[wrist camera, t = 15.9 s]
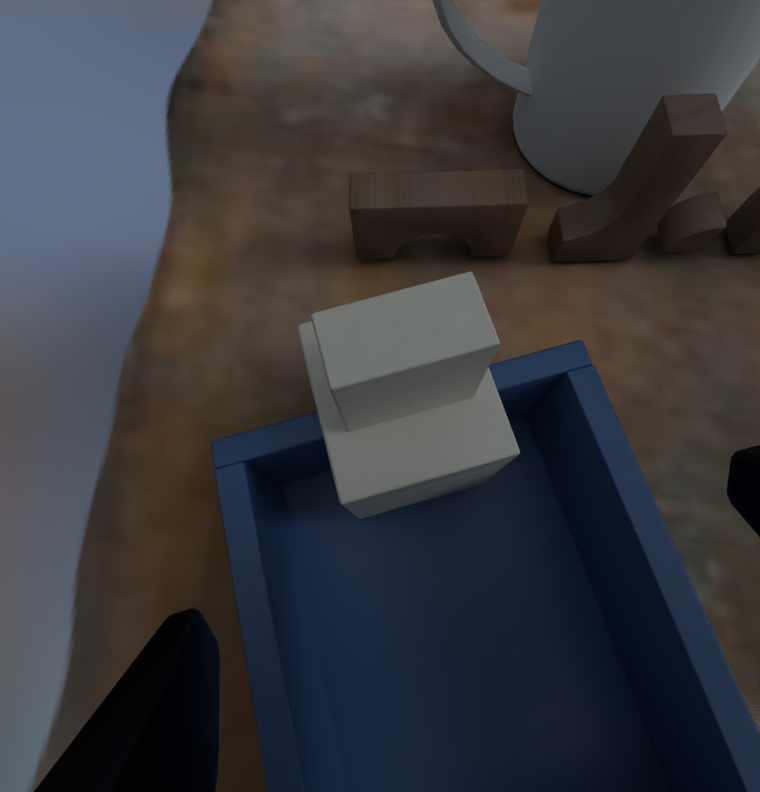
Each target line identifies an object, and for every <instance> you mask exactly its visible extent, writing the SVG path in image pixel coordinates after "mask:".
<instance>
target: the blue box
mask: <svg viewBox="0 0 760 792" xmlns="http://www.w3.org/2000/svg"><path fill="white" fill-rule="evenodd" d="M489 370H490V372H491V375H492V378H493V380H494V383H495V386H496V388H497V391H498V394H499V396H500V399H501V402H502V404H503V407H504V410H505V412H506V415H507V418H508V420H509V423H510V426H511V428H512V431H513V434H514V436H515V439H516V442H517V444H518V447H519V450H520V454H519V455H517V456H516V457H515V458H514V459H512V460H511V461H510V462H509V463H508V464H506V465H505V466H504V467H503V468H501V469H500V470H499V471H498V472H497V473H495V474H494V475H493V476H492V477H491V478H489V479H488V480H487V481H486V482H485V483H483V484H481V485H478V486H474V487H471V488H467V489H464V490H460V491H457V492H453V493H450V494H446V495H443V496H439V497H436V498H432V499H429V500H425V501H422V502H418V503H415V504H411V505H408V506H404V507H401V508H398V509H394V510H391V511H387V512H384V513H380V514H377V515H373V516H370V517H366V518H363V519H359V518H358V517H356V516H355V515H354V514H353V513H351V512H350V511H349V510H348V509H347V508H345V507H344V506H343V505H341V503H340V502H339V498H338V494H337V490H336V486H335V482H334V478H333V473H332V469H331V465H330V461H329V457H328V453H327V449H326V445H325V441H324V437H323V433H322V428H321V424H320V420H319V416H318V412H315V413H312V414H308V415H304V416H301V417H297V418H293V419H290V420H286V421H282V422H279V423H275V424H271V425H268V426H264V427H260V428H257V429H253V430H249V431H246V432H242V433H239V434H235V435H231V436H228V437H224V438H220V439H217V440H213V441H212V442H211V450H212V456H213V462H214V467H215V468H216V469H215V477H216V483H217V489H218V495H219V501H220V507H221V513H222V519H223V525H224V531H225V537H226V543H227V550H228V556H229V562H230V568H231V574H232V580H233V586H234V592H235V598H236V604H237V610H238V616H239V622H240V628H241V634H242V640H243V646H244V652H245V658H246V665H247V671H248V677H249V683H250V689H251V695H252V701H253V707H254V713H255V719H256V725H257V731H258V737H259V743H260V749H261V755H262V761H263V767H264V773H265V780H266V786H267V792H760V733H759V731H758V729H757V727H756V725H755V722H754V720H753V718H752V716H751V713H750V711H749V709H748V707H747V705H746V702H745V700H744V698H743V696H742V693H741V691H740V689H739V687H738V684H737V682H736V680H735V678H734V676H733V673H732V671H731V669H730V667H729V664H728V662H727V660H726V658H725V656H724V653H723V651H722V649H721V647H720V644H719V642H718V640H717V638H716V636H715V633H714V631H713V629H712V627H711V624H710V622H709V620H708V618H707V616H706V613H705V611H704V609H703V607H702V604H701V602H700V600H699V598H698V595H697V593H696V591H695V589H694V587H693V584H692V582H691V580H690V578H689V575H688V573H687V571H686V569H685V567H684V564H683V562H682V560H681V558H680V555H679V553H678V551H677V549H676V547H675V544H674V542H673V540H672V538H671V535H670V533H669V531H668V529H667V527H666V524H665V522H664V520H663V518H662V515H661V513H660V511H659V509H658V507H657V504H656V502H655V500H654V498H653V495H652V493H651V491H650V489H649V486H648V484H647V482H646V480H645V478H644V475H643V473H642V471H641V469H640V466H639V464H638V462H637V460H636V458H635V455H634V453H633V451H632V449H631V446H630V444H629V442H628V440H627V438H626V435H625V433H624V431H623V429H622V426H621V424H620V422H619V420H618V418H617V415H616V413H615V411H614V409H613V406H612V404H611V402H610V400H609V397H608V395H607V393H606V391H605V389H604V386H603V384H602V382H601V380H600V377H599V375H598V373H597V371H596V369H595V366H594V365H592V361H591V359H590V357H589V355H588V352H587V350H586V348H585V346H584V343H583V342H582V340H578V341H574V342H571V343H567V344H564V345H560V346H556V347H553V348H549V349H545V350H542V351H538V352H534V353H531V354H527V355H523V356H520V357H516V358H512V359H509V360H505V361H501V362H498V363H494V364H491V365H489Z"/></svg>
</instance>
